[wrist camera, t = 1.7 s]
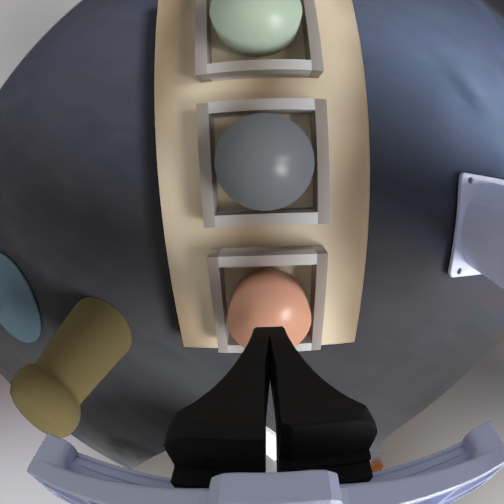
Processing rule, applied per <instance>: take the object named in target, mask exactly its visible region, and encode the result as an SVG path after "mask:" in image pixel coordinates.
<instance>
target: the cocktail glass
mask: <svg viewBox="0 0 504 504" xmlns="http://www.w3.org/2000/svg"><path fill="white" fill-rule="evenodd" d="M0 323H1V325H2V326H3V327H4V328H5V329H6V330H7V331H8V332H9V333H10V334H11V335H12V336H13V337H15V338H16V339H18V340H20V341H22V342H25V343H33V342H35V341H36V340H37V339H38V338H39V336H40V333H41V317H40V313H39V309H38V305H37V302H36V300H35V297H34V295H33V292H32V290H31V288H30V286H29V284H28V282H27V281H26V279H25V277H24V276H23V274H22V273H21V271H20V270H19V268H18V267H17V266H16V265H15V263H14V262H13V261H12V260H11V259H10V258H8V257H7V256H6V255H4V254H3V253H1V252H0Z"/></svg>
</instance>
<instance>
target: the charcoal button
mask: <svg viewBox="0 0 504 504" xmlns="http://www.w3.org/2000/svg"><path fill="white" fill-rule="evenodd" d="M314 164H315V160H314V152H313V148H312V145H311V143H310V141H309V139H308V137H307V136H306V134H305V133H304V131H303V130H302V129H301V128H300V127H299V126H298V125H296V124H295V123H294V122H292V121H291V120H289V119H287V118H285V117H283V116H280V115H276V114H271V113H257V114H252V115H248V116H246V117H243V118H241V119H239V120H237V121H236V122H235V123H233V124H232V125H231V126H230V127H229V128H228V129H227V130H226V131H225V132H224V133H223V135H222V136H221V138H220V140H219V142H218V144H217V147H216V151H215V157H214V166H215V172H216V176H217V179H218V181H219V183H220V185H221V187H222V189H223V190H224V191H225V192H226V194H227V195H228V196H229V197H230V198H231V199H233V200H234V201H235V202H237V203H238V204H240V205H242V206H244V207H247V208H250V209H253V210H259V211H270V210H276V209H280V208H283V207H285V206H287V205H289V204H291V203H293V202H294V201H296V200H297V199H298V198H299V197H300V196H301V195H302V194H303V193H304V192H305V190H306V189H307V187H308V186H309V184H310V182H311V179H312V176H313V172H314Z"/></svg>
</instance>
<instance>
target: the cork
mask: <svg viewBox="0 0 504 504" xmlns="http://www.w3.org/2000/svg"><path fill="white" fill-rule="evenodd" d="M131 344H132V335H131V331H130V328H129V326H128V324H127V322H126V320H125V319H124V318H123V316H122V315H121V314H120V312H118V311H117V310H116V309H115V308H114V307H113V306H112V305H110V304H109V303H107V302H105V301H103V300H101V299H98V298H94V297H88V298H83V299H81V300H80V301H78V302H77V304H76V305H75V306H74V308H73V309H72V310H71V312H70V313H69V314H68V316H67V317H66V319H65V320H64V321H63V323H62V324H61V326H60V327H59V328H58V330H57V331H56V333H55V334H54V336H53V337H52V339H51V340H50V342H49V343H48V345H47V346H46V348H45V349H44V351H43V352H42V354H41V355H40V357H39V358H38V360H37V362H36V363H35V364H29V365H26V366H25V367H23V368H21V369H19V370H18V371H17V372H16V373H15V375H14V377H13V379H12V381H11V388H10V394H11V397H12V399H13V402H14V404H15V405H16V407H17V408H18V410H19V411H20V412H21V414H22V415H23V416H24V417H25V418H26V419H27V420H28V421H29V422H30V423H31V424H33V425H34V426H35V427H36V428H38V429H39V430H41V431H42V432H44V433H46V434H48V433H49V434H52V435H54V436H56V437H59V438H64V437H66V436H69V435H70V434H71V433H72V432H73V431H74V430H75V429H76V428H77V426H78V424H79V422H80V417H81V408H80V404H81V403H82V402H83V401H84V400H85V398H86V397H87V396H88V395H89V394H90V393H91V392H92V390H93V389H94V388H95V387H96V386H97V385H98V384H99V383H100V381H101V380H102V379H103V378H104V377H105V376H106V375H107V374H108V372H109V371H110V370H111V369H112V368H113V367H114V366H115V365H116V364H117V363H118V361H119V360H120V359H121V358H122V357H123V356H124V355H125V354H126V353H127V351H128V350H129V349H130V348H131Z"/></svg>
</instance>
